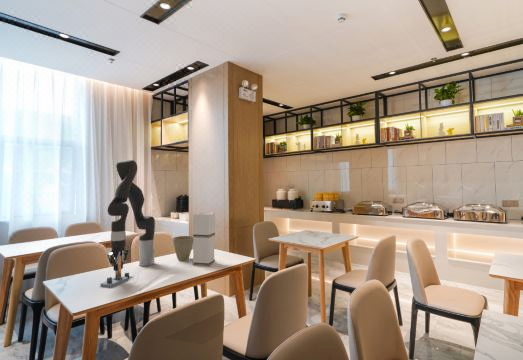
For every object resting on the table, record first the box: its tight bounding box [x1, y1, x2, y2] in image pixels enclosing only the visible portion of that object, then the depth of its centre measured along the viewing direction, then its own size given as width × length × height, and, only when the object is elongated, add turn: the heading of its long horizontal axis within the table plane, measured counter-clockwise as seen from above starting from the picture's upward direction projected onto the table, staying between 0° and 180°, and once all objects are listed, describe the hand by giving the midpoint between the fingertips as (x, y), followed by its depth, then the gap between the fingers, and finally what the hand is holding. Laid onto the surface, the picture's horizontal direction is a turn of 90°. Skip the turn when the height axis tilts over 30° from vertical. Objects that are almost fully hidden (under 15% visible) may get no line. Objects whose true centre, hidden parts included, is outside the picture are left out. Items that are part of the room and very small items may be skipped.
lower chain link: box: [121, 272, 134, 284], centre depth 164 cm, size 12×7×4 cm, turn 164°
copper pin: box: [114, 256, 122, 278], centre depth 161 cm, size 3×3×12 cm
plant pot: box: [172, 235, 193, 262], centre depth 212 cm, size 15×15×16 cm
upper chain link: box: [100, 276, 128, 288], centre depth 159 cm, size 12×7×6 cm, turn 164°
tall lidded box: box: [192, 212, 216, 267], centre depth 201 cm, size 11×11×35 cm
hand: (118, 269), depth 161 cm, fingers closed on copper pin, 3 cm apart
